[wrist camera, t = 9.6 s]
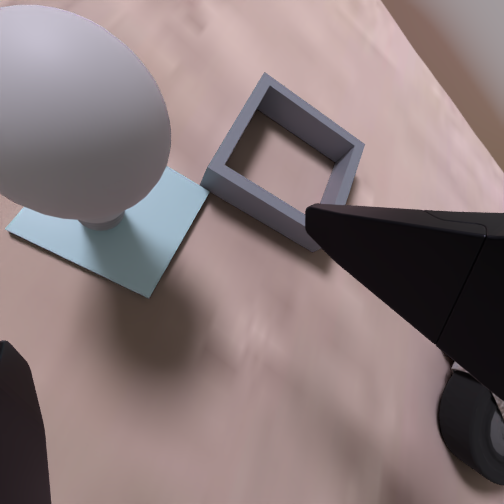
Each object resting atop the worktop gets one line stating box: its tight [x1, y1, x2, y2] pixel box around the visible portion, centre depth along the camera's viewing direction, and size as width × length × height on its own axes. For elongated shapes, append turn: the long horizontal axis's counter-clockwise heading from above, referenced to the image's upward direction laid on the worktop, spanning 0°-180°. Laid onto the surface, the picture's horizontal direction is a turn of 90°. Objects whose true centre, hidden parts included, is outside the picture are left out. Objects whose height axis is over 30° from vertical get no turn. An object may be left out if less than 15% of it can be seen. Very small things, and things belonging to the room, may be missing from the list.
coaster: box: [5, 166, 210, 299], centre depth 17 cm, size 8×8×1 cm
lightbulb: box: [0, 5, 171, 231], centre depth 12 cm, size 6×6×11 cm
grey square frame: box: [200, 72, 365, 252], centre depth 21 cm, size 10×10×2 cm
